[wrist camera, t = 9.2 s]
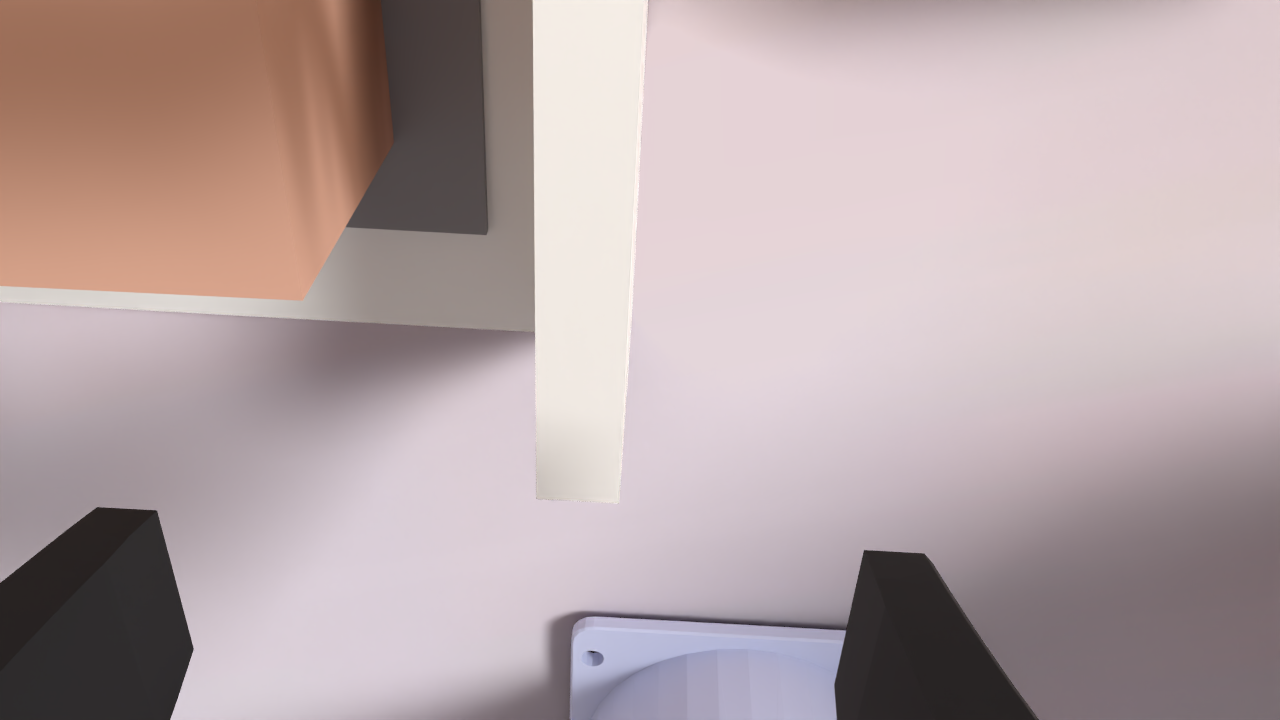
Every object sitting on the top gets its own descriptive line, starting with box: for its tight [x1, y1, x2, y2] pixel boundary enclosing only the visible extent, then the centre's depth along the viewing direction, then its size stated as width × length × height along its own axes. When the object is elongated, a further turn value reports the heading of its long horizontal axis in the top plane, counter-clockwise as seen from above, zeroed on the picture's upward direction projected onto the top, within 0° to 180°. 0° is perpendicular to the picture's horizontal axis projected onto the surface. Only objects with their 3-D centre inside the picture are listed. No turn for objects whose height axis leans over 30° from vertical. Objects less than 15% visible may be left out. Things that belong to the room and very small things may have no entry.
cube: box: [0, 0, 394, 301], centre depth 14 cm, size 5×5×5 cm
